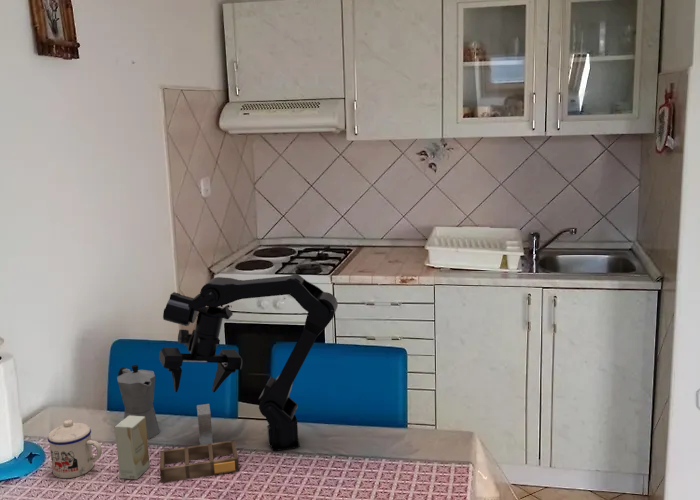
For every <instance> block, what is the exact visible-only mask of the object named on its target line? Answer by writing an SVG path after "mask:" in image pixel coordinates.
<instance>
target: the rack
mask: <svg viewBox="0 0 700 500" xmlns="http://www.w3.org/2000/svg"><path fill="white" fill-rule="evenodd" d="M159 455H160V457H159V458H160V459H159V462H160V463H159V473H160V483H161V484H163V483H170V482H174V481H175V482H176V481H181V480H188V479H195V478H202V477H209V476H213V475H214V476H215V475H221V474H227V473H228V474H229V473H234V472H239V471H240V466H239V465H240V463H239V456H238V451H237V445H236V441H235V439H234V440H227V441H219V442H213V443H211V444H204V445H200V444H198V445H191V446H185V447H177V448H176V447H175V448H171V449H170V448H169V449H163V450H160V454H159ZM229 455H232V456H231V457H227V458H222V459H214V458H215V457H221V456H229ZM202 459H208V460H207V461H199V462H193V463H192V462H191V463H190V461H195V460H202ZM182 462H184V464H179V465H173V466H168V467H167V466H166V465H167V464H168V465H169V464H175V463H182Z"/></svg>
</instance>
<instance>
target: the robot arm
mask: <svg viewBox="0 0 700 500" xmlns="http://www.w3.org/2000/svg"><path fill="white" fill-rule="evenodd" d="M287 295H288V296H291V297H292V298H293V299H294V300H295V301H296V302H297V303H298V305H300V307H301V308H303V309H304V310H305V312H307V316H306V318H305V322H304V326H303V330H302V331H301V333H300V336H299V337H298V339H297V341H296V343H295V345H294V347H293V349H292V350H291V352H290V355H289V356H288V359H287V360H286V362H285V364H284V366H283V367H282V370H281V372H280V373H279V375H278V376H277V377H276V378H274V377H273V376H270V377H269V379H268V380H267V383H265V386H264V388H263V390H262V392H261V394H260V395H259V397H258V399H257V401H259V404H258V409H259V412H260V414H261V415H262V416H263V417H265V419H266V421H267V423H268V424H267V426H266V428H267V429H266V430H267V442H268V445H269V446H270V447H271V450H272V452H277V451H278V452H279V451H285V450H291V449H297V448H300V447H301V444H300V442H299V431H298V429H299V427H298V418H297V416H296V415H295V414H296V412H297V410H298V403H297V402H295V401H294V399H292V398H291V397H290V394H291V391H292V388H293V384H294V382H295V379H296V378H297V376H298V374H299V372H300V371H301V368H302V366H303V364H304V362H305V361H306V359H307V356H308V354H309V353H310V351H311V349H312V347H313V345H314V343H315V342H316V340H317V338H318V337H319V335H320V334H321V333H322V332H323V331H324V330H325V329H326V328H327V326H329V324H330V322H331V321H332V320H333V318H334V316H335V314H336V312H337V309H338V306H339V305H338V300H337V298H336V297H335V295H334V294H332V293H330V292H328V291H327V292H325V291H324V290H322V289H321V288H320V287H318V286H316V285H315V284H313V283H311V282H309V281H308V280H306V279H305V278H303V277H302V276H301V275H299V274H295V273H294V274H291V275H284V276H283V275H282V276H273V277H263V278H253V279H244V280H243V279H236V278H233V277H223V276H217V277H213V278H211V279H210V280H208V282H207V283H205V284H204V285H203V286H202V288H201V289H200V291H199V293H198V294H197V295H195V297H191V296H187V295H184V294H181V293H179V292H176V291H173V292H172V293H171V294H170V295H169V298H168V300H167V302H166V306H165V308H164V309H163V315H162V319H163V321H165V322H170V323H173V324H177V325H180V326H186V327H189V326H190V324H194V323H195V328H194V329H192V333H190V332H189V330H188V329H179V330H178V333H177V342H178V343H179V344H184V347H186V349H187V351H188V352H189V353H181V351H180V350H179V348H178V347H162V349H161V350H160V351H159V354H158V355H159V356H158V359H159V361H160V363H161V365H162V367H163V368H165V369H167V370H168V372H170V373H171V377H172V384H173V389H174V392H175V393H177V392H178V391H179V388H180V383H181V377H182V373H183V370H182V368H181V367H182V366H183V363H210V364H211V363H212V364H214V363H216V364H217V367H216V372H215V376H214V379H213V382H212V388H211V391H212V393H215V392H217V390H218V389H219V388H220V387H221V385H222V384H223V383H224V381H226V380H227V378H229V376H230V375H232V373H236V370H237V371H239V370H242V368H243V362H244V361H243V358H242V357H241V356H240V354H239V353H238V351H237V350H236V349H225V348H224V349H221V350H220V352H219V354H216V352H217V347H218V345H220V342H221V340H220V338H219V337H220V334H221V328H222V324H223V320H224V319H225V320H229V319H230V318H231V317H232V316H233V312H232V310H231V309H230V308H229V306H228V305H229V304H231V303H233V302H236V301H240V300H245V299H254V298H255V299H256V298H267V297H276V296H287ZM223 306H224V307H223Z"/></svg>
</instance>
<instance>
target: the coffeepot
mask: <svg viewBox="0 0 700 500" xmlns="http://www.w3.org/2000/svg"><path fill="white" fill-rule="evenodd" d="M131 370H132V371H131ZM117 375H118V376H116V379H117V384H118V388H119V391H120V395H121V399H122V404H123V406H124V415H123V420H124V419H125V418H126V417H127V416H129V415H131V416H145V419H146V430H147V440H150V439H153V438H154V437H156V436H157V435H158V434H159V433H160V432H161V430H160V425H159V422H158V419H157V416H156V415H157V414H156V411H155V408H154V404H153V402H154V400H155V399H154V398H155V384H156V382H155V381H156V375H155V372H154V371H153V370H147V369H139V364H132V365H131V369H130V368H126V367H120V368H119V370H118V372H117Z"/></svg>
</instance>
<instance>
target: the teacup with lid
mask: <svg viewBox="0 0 700 500" xmlns="http://www.w3.org/2000/svg"><path fill="white" fill-rule="evenodd" d="M91 433H92V429H91V427H90V426H89V425H88V424H86V423H81V422H74V421H73V420H72V419H66V420H64V421H63V423H62V424H61V425H60V426H58V427H55V428H54V429H52V430H51V431H50V432H49V433H48V435H47V441H48V445H49V452H50V459H51V460H50V461H51V467H52V473H53V475H54V476H55V477H57V478H60V479H73V478H76V477H81V476H83V475H85V474H87V473H88V472H90V471H91V470H92V469H93V467H94V465H95V463H94V462H97V461H98V460H99V459H100V458H101V456H102V454H103V449H102V445H101V443H99V442H98V441H97V440H92V437H91V435H92V434H91ZM93 447H94V448H95V449H96V456H94V454H93Z"/></svg>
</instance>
